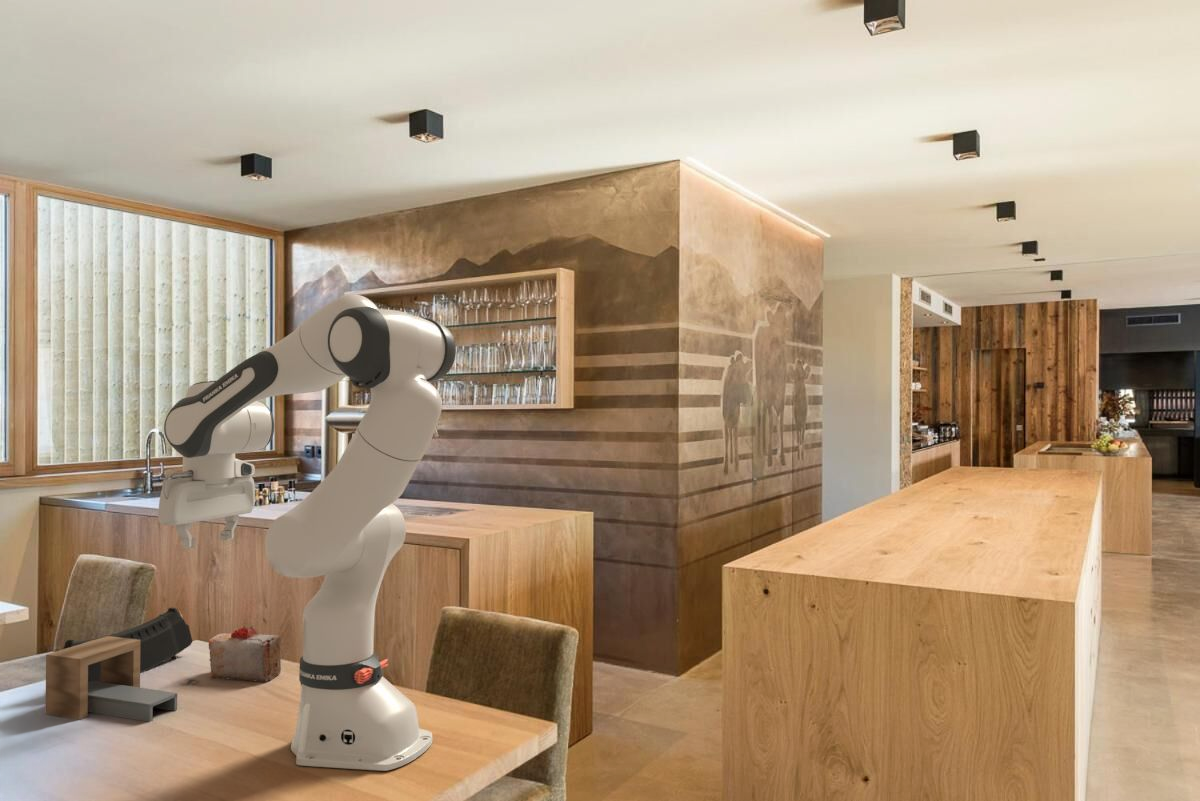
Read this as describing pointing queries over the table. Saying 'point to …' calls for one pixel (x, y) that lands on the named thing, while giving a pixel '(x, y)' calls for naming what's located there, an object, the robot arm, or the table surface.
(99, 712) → the grey channel riser
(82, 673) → the wooden arch
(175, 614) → the magazine
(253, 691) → the table surface
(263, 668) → the food item
